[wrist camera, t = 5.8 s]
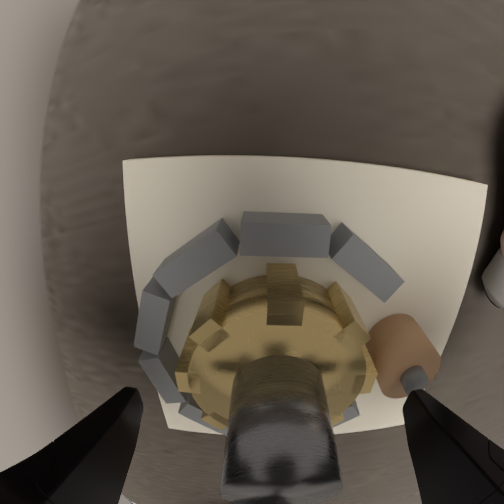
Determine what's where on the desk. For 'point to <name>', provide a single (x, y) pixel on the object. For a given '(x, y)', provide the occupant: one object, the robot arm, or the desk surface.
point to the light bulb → (495, 277)
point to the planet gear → (277, 382)
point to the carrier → (302, 258)
